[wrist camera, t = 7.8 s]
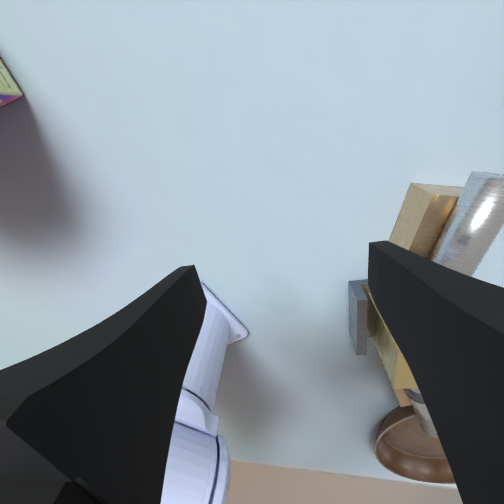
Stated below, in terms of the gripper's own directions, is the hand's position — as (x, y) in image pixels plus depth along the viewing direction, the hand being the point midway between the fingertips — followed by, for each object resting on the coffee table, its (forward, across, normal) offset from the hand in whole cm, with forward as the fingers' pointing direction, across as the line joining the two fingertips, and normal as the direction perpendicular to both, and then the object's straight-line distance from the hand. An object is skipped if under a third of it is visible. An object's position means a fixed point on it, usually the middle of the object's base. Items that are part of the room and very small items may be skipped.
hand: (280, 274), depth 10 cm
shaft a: (+10, -11, +3) cm, 15 cm away
